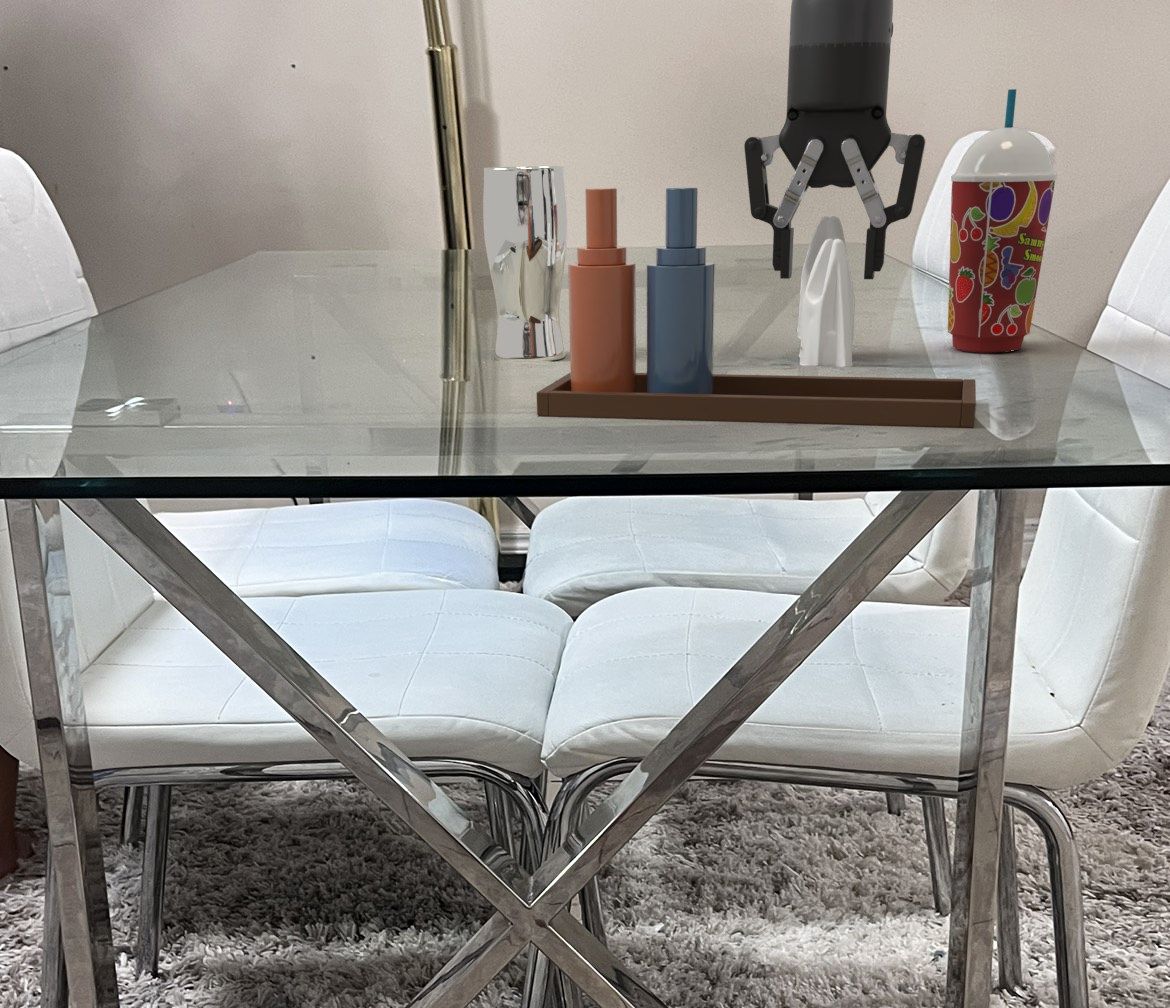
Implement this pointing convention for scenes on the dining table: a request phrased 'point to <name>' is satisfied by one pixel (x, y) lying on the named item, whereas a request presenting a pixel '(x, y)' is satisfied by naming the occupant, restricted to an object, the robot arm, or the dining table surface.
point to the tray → (780, 401)
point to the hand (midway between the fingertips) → (827, 277)
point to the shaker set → (826, 299)
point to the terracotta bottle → (602, 303)
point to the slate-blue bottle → (680, 304)
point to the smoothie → (998, 237)
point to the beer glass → (526, 258)
